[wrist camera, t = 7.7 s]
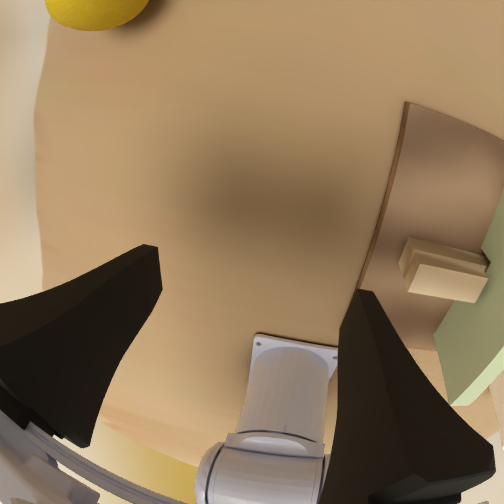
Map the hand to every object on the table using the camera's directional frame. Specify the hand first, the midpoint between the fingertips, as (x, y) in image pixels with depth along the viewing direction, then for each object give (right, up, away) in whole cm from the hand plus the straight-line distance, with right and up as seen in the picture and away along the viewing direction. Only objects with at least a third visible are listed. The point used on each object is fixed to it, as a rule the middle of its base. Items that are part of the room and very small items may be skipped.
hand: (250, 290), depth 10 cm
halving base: (+17, +1, +7) cm, 18 cm away
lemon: (-7, +18, +2) cm, 20 cm away
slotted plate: (+17, 0, +6) cm, 18 cm away
